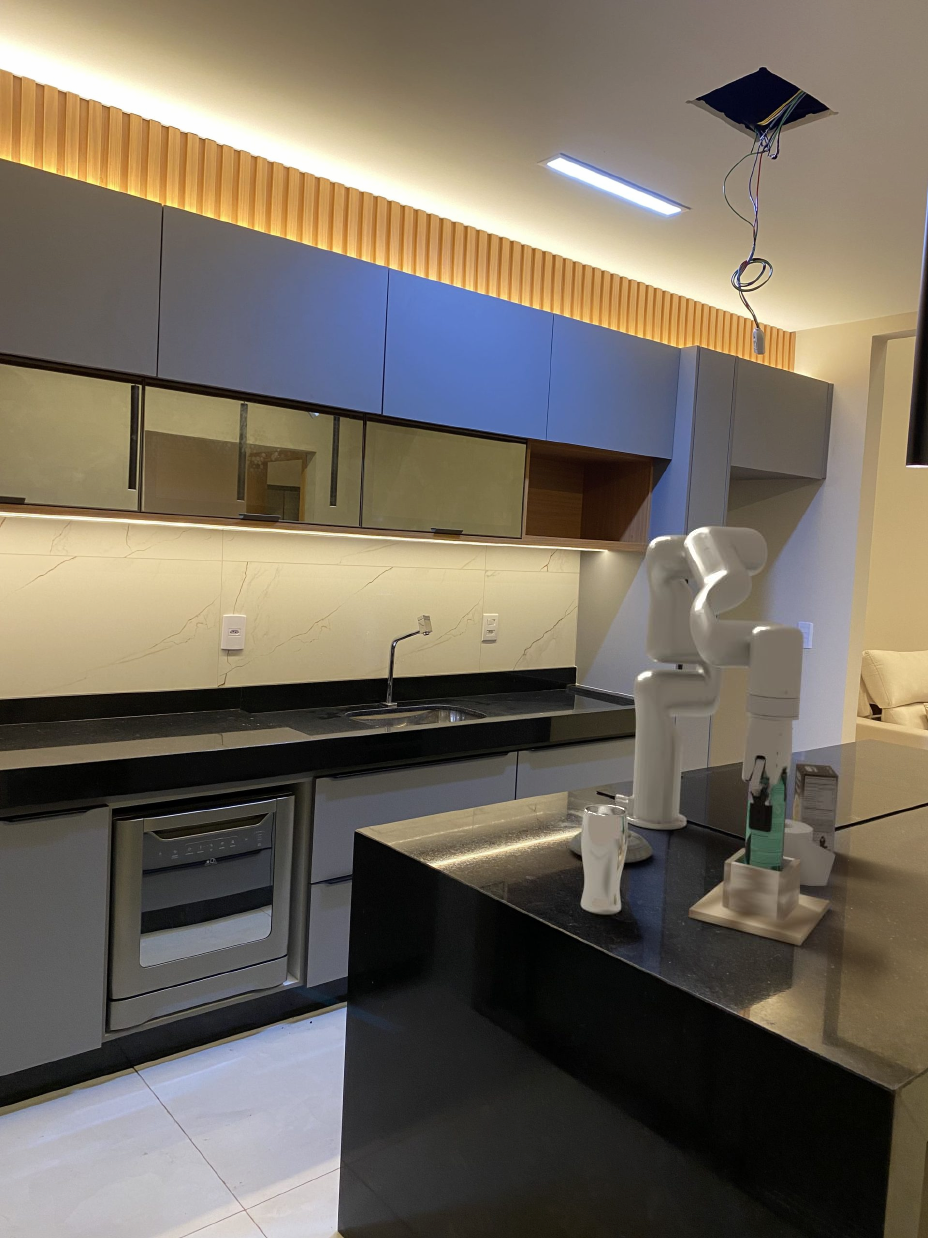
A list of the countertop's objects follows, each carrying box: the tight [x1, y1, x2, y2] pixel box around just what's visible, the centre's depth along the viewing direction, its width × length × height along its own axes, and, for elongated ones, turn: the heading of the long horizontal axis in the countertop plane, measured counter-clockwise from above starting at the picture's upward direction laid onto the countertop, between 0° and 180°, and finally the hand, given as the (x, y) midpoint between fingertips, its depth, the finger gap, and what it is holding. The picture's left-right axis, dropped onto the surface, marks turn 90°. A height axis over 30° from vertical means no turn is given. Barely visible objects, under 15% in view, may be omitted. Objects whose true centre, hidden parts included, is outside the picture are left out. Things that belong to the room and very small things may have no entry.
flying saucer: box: [568, 829, 654, 864], centre depth 163 cm, size 15×15×6 cm
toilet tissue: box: [783, 818, 836, 887], centre depth 155 cm, size 9×13×9 cm
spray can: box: [744, 767, 789, 872], centre depth 136 cm, size 6×6×20 cm
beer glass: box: [580, 803, 629, 915], centre depth 136 cm, size 7×7×15 cm
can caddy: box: [688, 847, 830, 946], centre depth 137 cm, size 16×18×8 cm
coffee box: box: [792, 763, 840, 854], centre depth 168 cm, size 9×6×16 cm
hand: (765, 824), depth 136 cm, fingers closed on spray can, 5 cm apart
